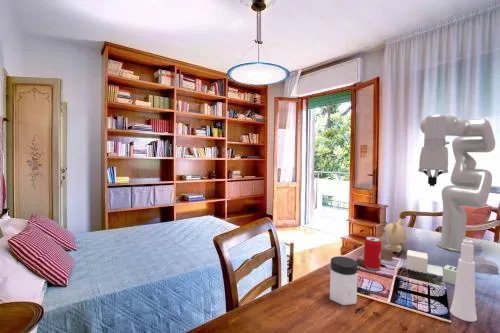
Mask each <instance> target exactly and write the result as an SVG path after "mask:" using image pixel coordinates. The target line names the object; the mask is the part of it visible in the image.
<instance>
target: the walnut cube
mask: <svg viewBox="0 0 500 333" xmlns="http://www.w3.org/2000/svg"><path fill="white" fill-rule="evenodd" d="M393 255H394V254H393V249H392V246H386V245H384V244H381V260H382V259H385V260H384V261H388V260H392V261H393Z"/></svg>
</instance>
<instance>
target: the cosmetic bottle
mask: <svg viewBox="0 0 500 333" xmlns="http://www.w3.org/2000/svg"><path fill="white" fill-rule="evenodd" d="M474 250H475V246H474V241H473V240H469V239H465V240H463V243H462V244H461V252H460V256H461V258H460V257H459V258H458V261H457V275H456V284H455V285H454V292H453V298H452V301H451V302H452V303H451V307H450V309H449V313H450V314H451V315H452V316H454V317H456V318H457V319H459V320H461V321H464V322H470V323H473V322H476V321H477V320H478V316H477V311H476V310H477V309H476V296H475V295H476V294H475V293H476V292H475V290H476V287H475V285H476V276H475V275H476V272H475V262H473V256H474Z"/></svg>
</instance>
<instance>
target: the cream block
mask: <svg viewBox="0 0 500 333" xmlns="http://www.w3.org/2000/svg"><path fill="white" fill-rule="evenodd" d="M428 260H429V256H428V253H427V252H420V251H415V250H410V249H407V251H406V265H405V266H406V268H405V269H406V270H408V269H411V270H410V271H412V270H415V271H414V272H417V271H418V273H421V272H423V273H422V274H426V273H427V274H428Z"/></svg>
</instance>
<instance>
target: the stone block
mask: <svg viewBox="0 0 500 333" xmlns="http://www.w3.org/2000/svg"><path fill="white" fill-rule="evenodd" d="M460 258H461V255H460V256H459V259H460ZM473 262H475V273H479V274H492V275H498V274H499V265H498V264H496V262H494V261H492V260H487V259H486V258H485V257H484V256H478V255H473Z"/></svg>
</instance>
